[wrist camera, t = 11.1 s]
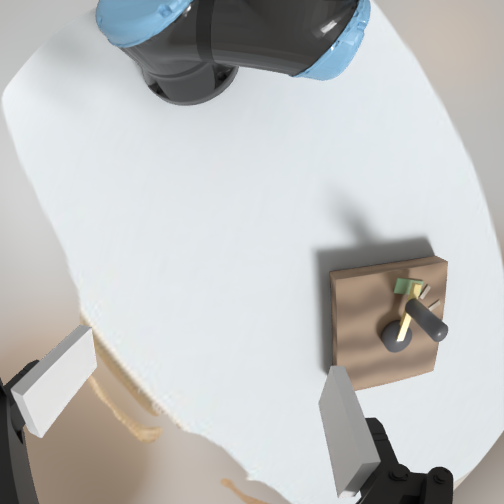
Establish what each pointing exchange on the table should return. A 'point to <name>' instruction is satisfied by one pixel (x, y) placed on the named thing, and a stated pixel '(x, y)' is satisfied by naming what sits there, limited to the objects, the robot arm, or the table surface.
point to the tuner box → (384, 319)
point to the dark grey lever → (398, 331)
